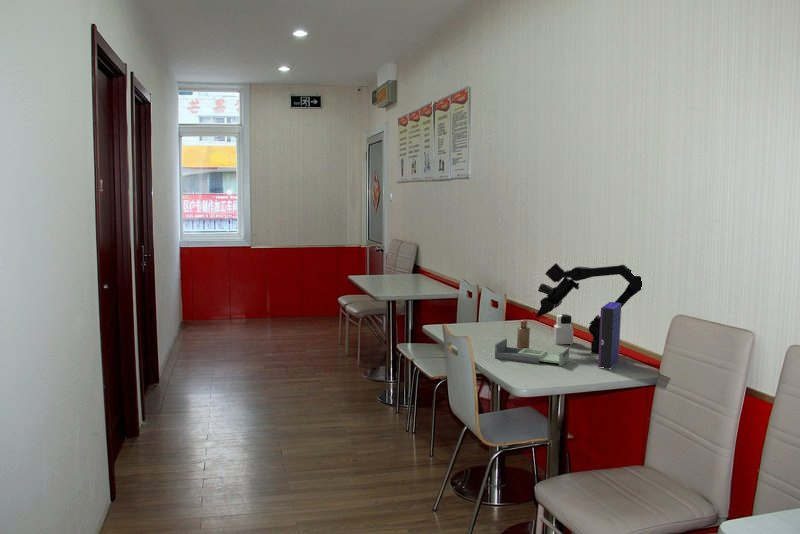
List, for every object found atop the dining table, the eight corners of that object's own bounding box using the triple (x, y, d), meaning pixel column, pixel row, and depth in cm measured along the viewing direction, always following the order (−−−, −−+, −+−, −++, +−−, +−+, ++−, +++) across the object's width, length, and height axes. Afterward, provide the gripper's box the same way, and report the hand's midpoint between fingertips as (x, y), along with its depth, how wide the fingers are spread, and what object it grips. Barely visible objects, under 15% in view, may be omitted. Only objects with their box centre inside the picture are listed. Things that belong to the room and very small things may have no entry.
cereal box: (606, 358, 284) (609, 301, 282) (618, 360, 282) (621, 302, 280) (598, 367, 269) (600, 307, 266) (610, 369, 267) (613, 308, 264)
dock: (546, 357, 284) (547, 343, 284) (538, 363, 274) (538, 349, 273) (504, 352, 293) (505, 338, 292) (494, 358, 282) (495, 343, 281)
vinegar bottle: (530, 350, 297) (531, 320, 296) (526, 352, 293) (527, 322, 291) (519, 348, 300) (520, 319, 298) (515, 351, 295) (516, 320, 294)
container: (570, 341, 317) (571, 313, 315) (572, 345, 309) (574, 316, 307) (553, 340, 317) (554, 313, 316) (555, 344, 310) (556, 316, 308)
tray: (569, 359, 280) (570, 347, 279) (562, 365, 269) (562, 353, 269) (525, 354, 288) (525, 342, 288) (516, 359, 278) (517, 347, 278)
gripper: (553, 275, 309) (530, 299, 315) (543, 279, 292) (520, 305, 298) (571, 291, 307) (548, 316, 312) (563, 297, 290) (539, 323, 295)
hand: (539, 315), depth 304 cm, fingers open, 9 cm apart
